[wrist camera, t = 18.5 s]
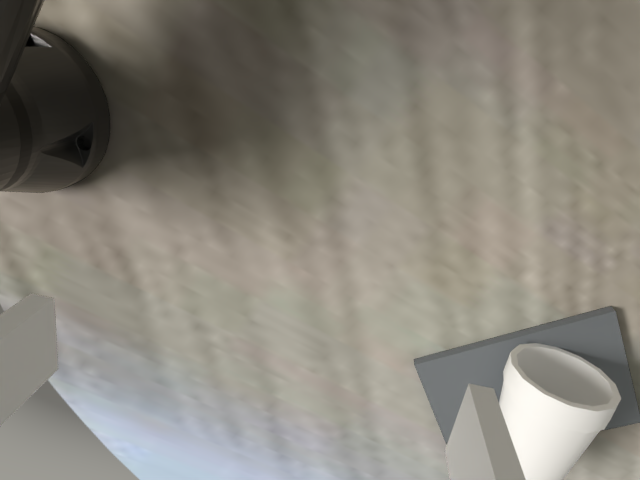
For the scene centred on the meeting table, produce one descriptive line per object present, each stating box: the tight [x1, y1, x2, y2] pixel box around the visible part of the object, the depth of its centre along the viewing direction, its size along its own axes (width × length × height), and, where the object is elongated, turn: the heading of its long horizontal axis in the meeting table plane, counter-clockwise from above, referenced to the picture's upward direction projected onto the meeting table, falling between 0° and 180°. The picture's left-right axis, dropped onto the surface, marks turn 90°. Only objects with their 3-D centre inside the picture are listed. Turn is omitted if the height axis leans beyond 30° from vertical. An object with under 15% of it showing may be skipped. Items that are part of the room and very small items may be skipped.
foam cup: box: [499, 343, 621, 480], centre depth 46 cm, size 10×9×13 cm
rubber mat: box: [414, 306, 640, 445], centre depth 50 cm, size 20×14×1 cm
